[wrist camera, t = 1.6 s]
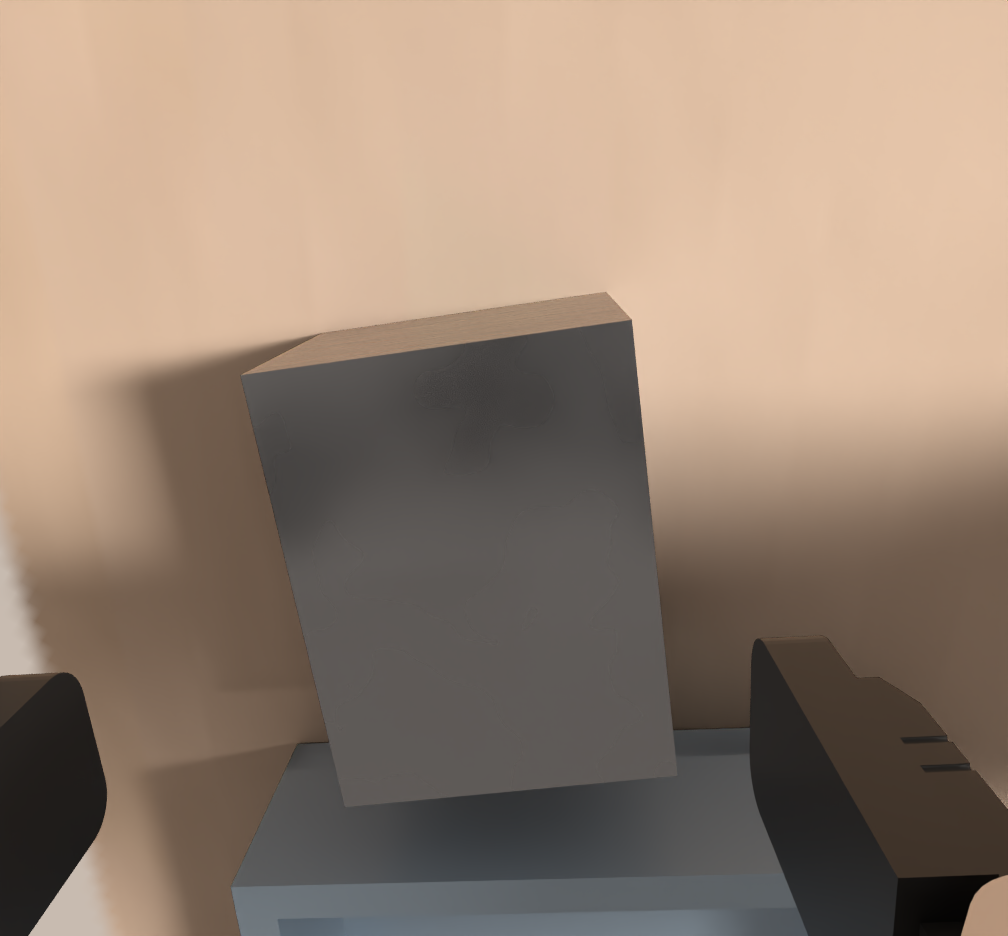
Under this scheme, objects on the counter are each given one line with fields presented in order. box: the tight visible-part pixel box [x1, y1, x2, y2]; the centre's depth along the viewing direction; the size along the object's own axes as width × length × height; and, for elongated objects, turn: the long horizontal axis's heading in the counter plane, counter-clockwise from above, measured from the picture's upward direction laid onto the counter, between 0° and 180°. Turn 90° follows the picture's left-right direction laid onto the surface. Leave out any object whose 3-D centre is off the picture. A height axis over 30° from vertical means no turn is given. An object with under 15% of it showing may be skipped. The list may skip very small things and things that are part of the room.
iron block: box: [240, 292, 678, 807], centre depth 16 cm, size 6×8×5 cm
